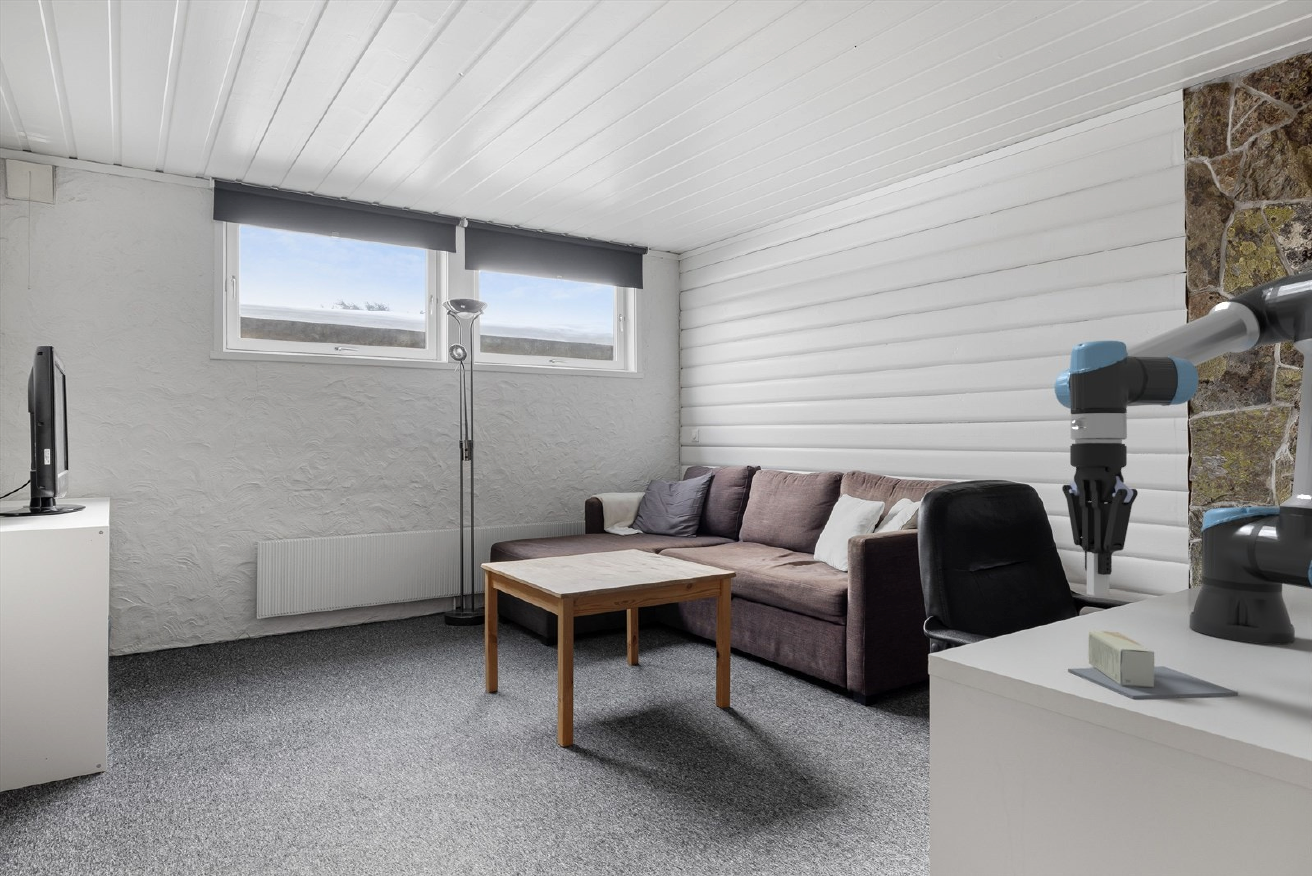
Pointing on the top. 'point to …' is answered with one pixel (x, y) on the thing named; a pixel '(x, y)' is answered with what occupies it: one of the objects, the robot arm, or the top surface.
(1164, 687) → the mat
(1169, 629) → the top surface
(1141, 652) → the box
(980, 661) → the top surface
